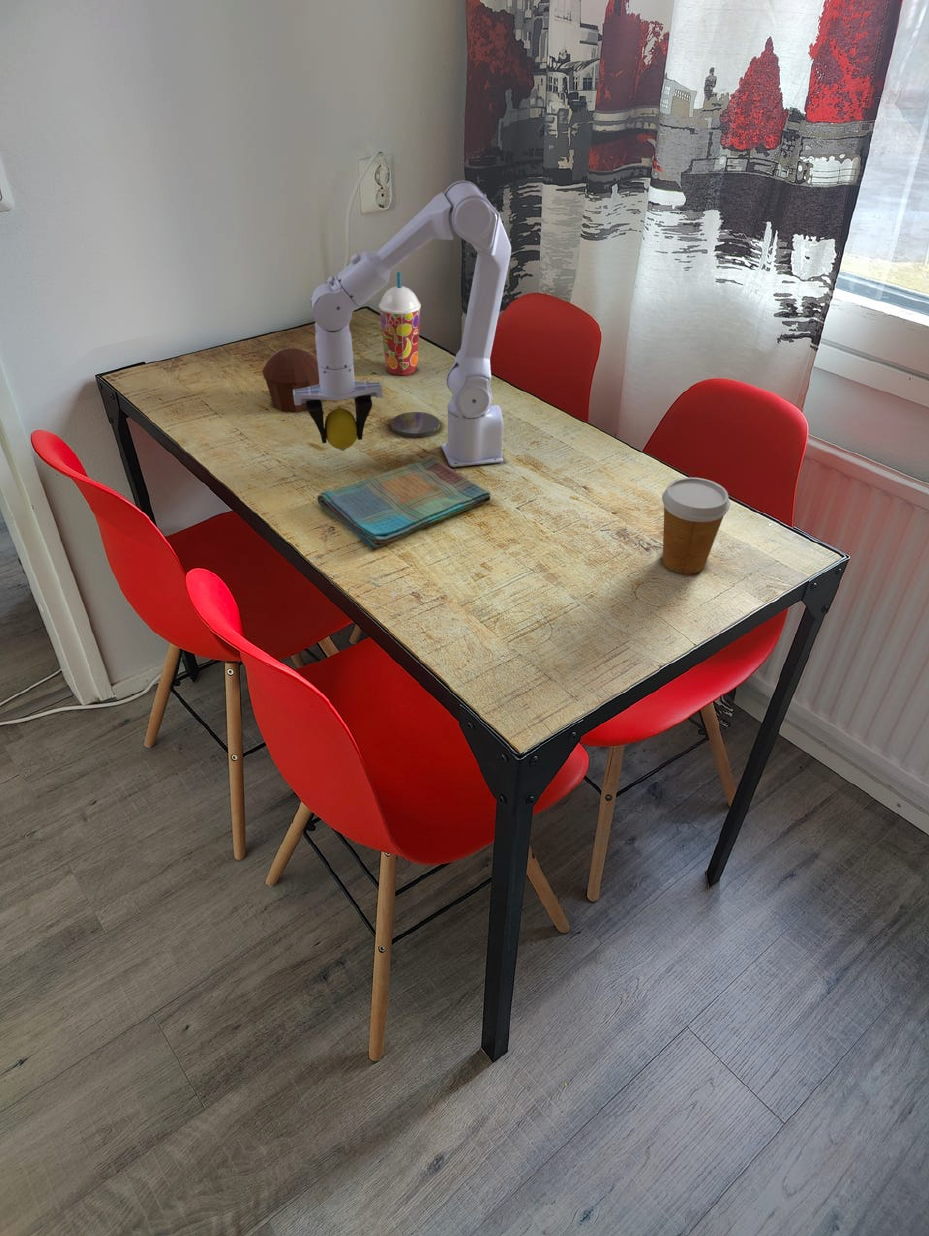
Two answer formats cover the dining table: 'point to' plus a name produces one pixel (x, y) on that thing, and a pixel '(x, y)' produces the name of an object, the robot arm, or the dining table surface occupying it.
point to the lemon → (341, 428)
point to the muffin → (290, 377)
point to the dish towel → (402, 501)
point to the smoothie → (400, 328)
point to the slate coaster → (415, 424)
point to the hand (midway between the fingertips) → (342, 438)
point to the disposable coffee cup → (691, 522)
